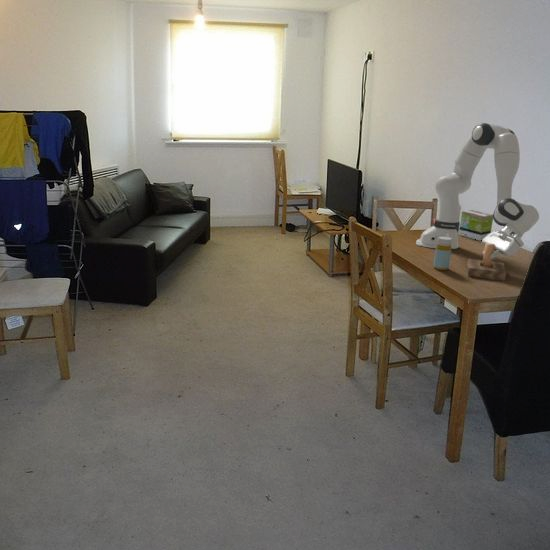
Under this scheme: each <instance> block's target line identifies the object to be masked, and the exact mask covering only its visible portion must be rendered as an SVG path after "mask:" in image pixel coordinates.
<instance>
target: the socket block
mask: <svg viewBox="0 0 550 550" xmlns="http://www.w3.org/2000/svg"><path fill="white" fill-rule="evenodd" d="M482 262H483V259H474V258H468V259H467V263H466V273H467V274H468V276H467V277H470V276H474V277H473V278H478V277H481V278H480V279H486V278H490V279H489V280H494V279H499V280H498V281H502V280H505V281H506V276H507V270H506V267H505V263H504V262H502V261H493V260H492V264H491V267H483V266H482Z"/></svg>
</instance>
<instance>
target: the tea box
mask: <svg viewBox="0 0 550 550" xmlns="http://www.w3.org/2000/svg"><path fill="white" fill-rule="evenodd" d="M493 221H494V219H493V214H490V213H487V212H482V211H478V210H473V209H470V210H465V211H464V210H463V211H462V212H461V215H460V221H459V222H460V226H459V231H458V236H462V237H465V238H468V239H472V240H475V239H476V241H478V240H479V241H478V242H482V241H481V240H482V239H483V238H484V237H486V236H487V235H488V234H489V233H491V232H492V226H493Z"/></svg>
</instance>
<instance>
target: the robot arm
mask: <svg viewBox="0 0 550 550" xmlns="http://www.w3.org/2000/svg"><path fill="white" fill-rule="evenodd" d="M487 149H493V150H494V158H493V159H494V168H495V174H496V175H495V176H496V182H497V190H496V191H497V193H496V194H497V197H496V198H497V200H496V201H497V202H496V207H495V209H494V211H493V214H492V215H493V221H494V222H495V223H496V224H497V225H498V226H502V228H501V229H500V230H494V231H491V233H489V234H488V235H487V236H486V237H484V238H483V239H482V241H481V243H482V244H483V246H484V247H485V244H486V243H491V244H495V246H494V252H493V253H491V254H490V255H489V257H490V258H491V259H492V260H493V259H494V258H496V257H498V256H499V255H501V254H502V255H504V256H506V257H508V258H509V257H512V256H513V255H514V254H515V253H517V251H519V250H520V248H522V247H523V246H524V245H525V243H524V241H523V240H522V239H521V238H522V237H523V236H524V235H525V234H526V233H527V232H529V231H530V230H531V229H532V228H533V227H534V226H535V225H536V224H537V222H538V221H539V219H540V214H539V212H538V210H537V208H535V207H534V206H532V205H530V204H523V203H521V202H519V201H517V200H516V199H513V198H512V188H513V184H514V179H515V177H516V175H517V173H518V171H519V168H520V160H521V156H520V154H521V153H520V144H519V139H518V137H517V135H516V134H515V132H514V131H513V130H511V129H509V128H506V127H504V126H500V125H495V124H490V123H486V122H482V123H478V124H477V125H476V126H474V128H473V130H472V132H471V134H470V135H468V138H466V140H465V142H464V144H463V145H462V147H461V149H460V151H459V152H458V154H457V156H455V157H456V158H455V159H454V168H453V171H452V172H451V174H447V175H443V176H441V177H440V178H438V179H437V181H436V183H435V186H434V187H435V191H436V193H437V194H438V204H439V207H438V216H437V218H433V219H432V221H433V223H432V224H433V225H431V226H430V227H429V228H427V229H426V230H424V231H423V232H422V233H421V236H420V238H418V239H416V242H415V244H416V245H417V246H418V247H424V248H431V249H436V246H437V243H438V237H440V236H445V237H450V238H452V242H451V250H455V249H458V248H459V240H458V239H459V238H458V237H459V228H460V222H461V221H460V219H461V209H462V207H461V205H460V201H459V195H461V194H464V193H466V192H467V191H468V190H469V189H470V188H471V186H472V178H473V175H474V172H475V170H476V168H477V167H478V165H479V163H480V161H481V159H482V158H483V156H484V155H485V154H484V153H485V152H486V150H487ZM482 255H483V256H484V250H482Z"/></svg>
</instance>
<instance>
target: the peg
mask: <svg viewBox="0 0 550 550" xmlns="http://www.w3.org/2000/svg"><path fill="white" fill-rule="evenodd" d="M494 246H495V244H491V243H486V244H485V246H484V250H483V251H484V255H483V258H482V260H483V262H482V266H483V267H491V264H492V261H493V259H491V258H490V257H489V255H490V254H491V253H494V252H495V250H494Z"/></svg>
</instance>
